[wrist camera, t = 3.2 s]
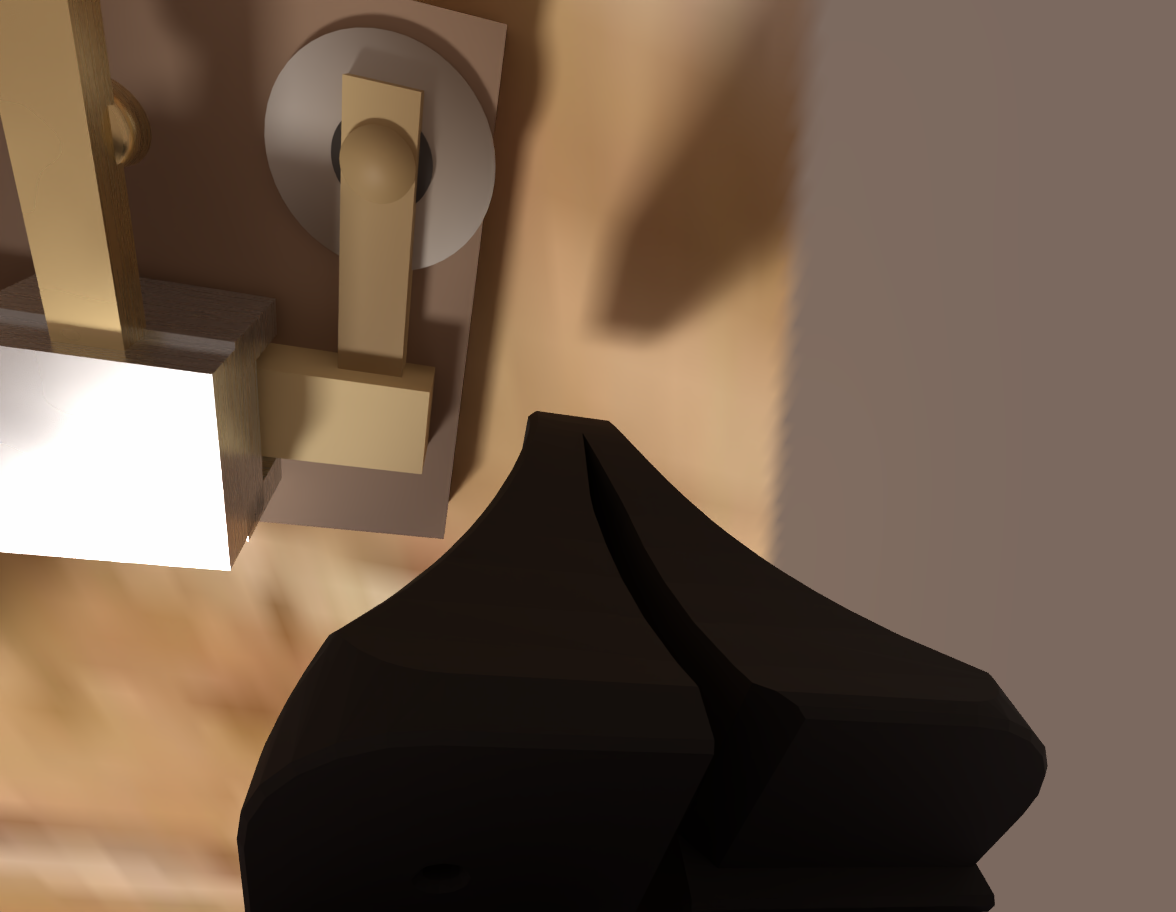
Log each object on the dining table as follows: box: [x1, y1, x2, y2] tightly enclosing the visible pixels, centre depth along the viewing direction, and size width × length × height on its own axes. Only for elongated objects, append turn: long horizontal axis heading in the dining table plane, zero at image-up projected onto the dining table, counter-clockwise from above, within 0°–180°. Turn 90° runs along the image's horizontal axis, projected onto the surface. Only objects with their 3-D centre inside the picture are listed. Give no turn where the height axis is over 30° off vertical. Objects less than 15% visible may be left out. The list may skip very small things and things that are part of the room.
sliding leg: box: [0, 0, 282, 570], centre depth 9 cm, size 3×7×3 cm, turn 168°
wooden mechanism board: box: [0, 0, 507, 539], centre depth 10 cm, size 14×9×2 cm, turn 78°
